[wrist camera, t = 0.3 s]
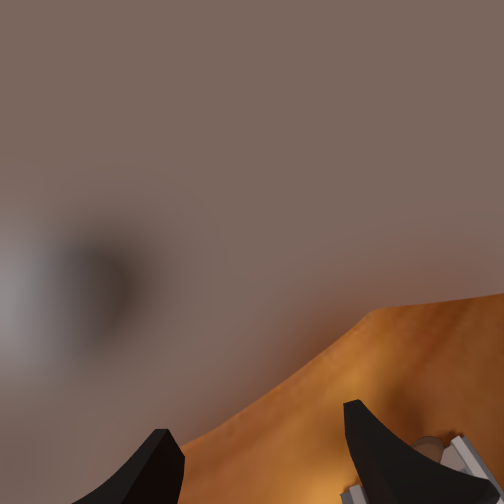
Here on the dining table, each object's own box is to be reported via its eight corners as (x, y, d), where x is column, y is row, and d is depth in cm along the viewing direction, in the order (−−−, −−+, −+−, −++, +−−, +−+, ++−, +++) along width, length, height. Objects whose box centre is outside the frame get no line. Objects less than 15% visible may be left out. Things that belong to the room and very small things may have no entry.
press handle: (460, 477, 15) (478, 437, 13) (382, 516, 16) (383, 488, 14) (448, 457, 18) (460, 414, 16) (373, 493, 19) (371, 459, 17)
